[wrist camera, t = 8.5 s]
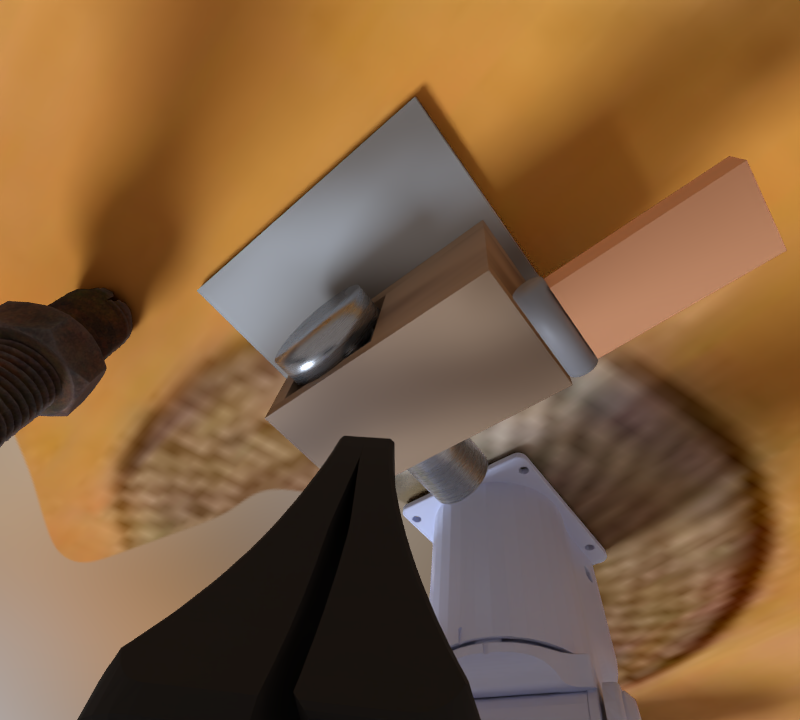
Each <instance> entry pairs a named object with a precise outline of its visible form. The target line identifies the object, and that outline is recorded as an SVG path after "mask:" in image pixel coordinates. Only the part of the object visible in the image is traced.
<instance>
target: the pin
mask: <svg viewBox="0 0 800 720" xmlns="http://www.w3.org/2000/svg"><path fill="white" fill-rule="evenodd" d="M379 314H380V310H379V308H378V307H377V306H376V305H375V303H374V302H373V301H372V300H371V299H370V298H369V297H368V295H367V294H366V293H365V292H364V291H363V290H362V288H361V287H360V286H359V285H353V286H351V287H348V288H346V289H345V290H343V291H341V292H340V293H338V294H337V295H335V296H334V297H332V298H331V299H330V300H328V301H327V302H326V303H324V304H323V305H322V306H321V307H319V308H318V309H317V310H316V311H315V312H314V313H313V314H311V315H310V316H309V317H308V318H307V319H306V320H305V321H304V322H303V323H302V324H301V325H300V326H299V327H298V328H297V329H296V330H295V331H294V332H293V333H292V334H291V335H290V337H289V338H288V339H287V340H286V341H285V343H284V344H283V345H282V346H281V348H280V349H279V351H278V353H277V354H276V357H275V363H276V364H277V365H278V366H280V367H281V368H282V369H283V370H284V371H285V372H286V373H287V374H288V375H289V376H290V377H291V378H292V379H293V380H294V381H295V382H296V383H297V384H298V385H305V384H308V383H310V382H312V381H314V380H316V379H318V378H320V377H321V376H323V375H324V374H326V373H327V372H329V371H330V370H331V369H333V368H334V367H335V366H337V365H338V364H339V363H340V362H341V361H342V360H344V359H345V358H347V357H348V356H350V355H351V354H353V353H354V352H356V351H357V350H359V349H360V348H362V347H363V346H365V345H366V344H368V343H369V342H371V339H372V336H373V333H374V329H373V326H374V325H375V323H376V321H377V320H378V317H379ZM487 469H488V460H487V457H486V456H485V454H484V453H483V452H482V451H481V450H480V449H479V448H478V447H477V445H476V444H475V443H474V442H473V441H472V440H471V439H470V438H468V439H466V440H464V441H462V442H460V443H458V444H456V445H454V446H452V447H450V448H448V449H446V450H444V451H442V452H440V453H438V454H436V455H434V456H433V457H431V458H429V459H427V460H425V461H423V462H421V463H419V464H417V465H415V466H413V467H411V468H409V469H407V470H408V471H409V472H410V473H411V474H412V475H413V476H414V477H415V478H416V479H417V480H418V481H419V482H420V483H421V484H422V485H423V486H424V487H425V488H426V489H427V490H428V491H429V492H430V493H431V494H432V495H433V496H434V497H435V498H436V499H437V500H438V501H439V502H440V503H443V504H454V503H457V502H460V501H462V500H464V499H465V498H467V497H468V496H470V495H471V494H472V493H473V492H474V491H475V490H476V489H477V488H478V487H479V486H480V484H481V483H482V481H483V480H484V478H485V476H486V473H487Z"/></svg>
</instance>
